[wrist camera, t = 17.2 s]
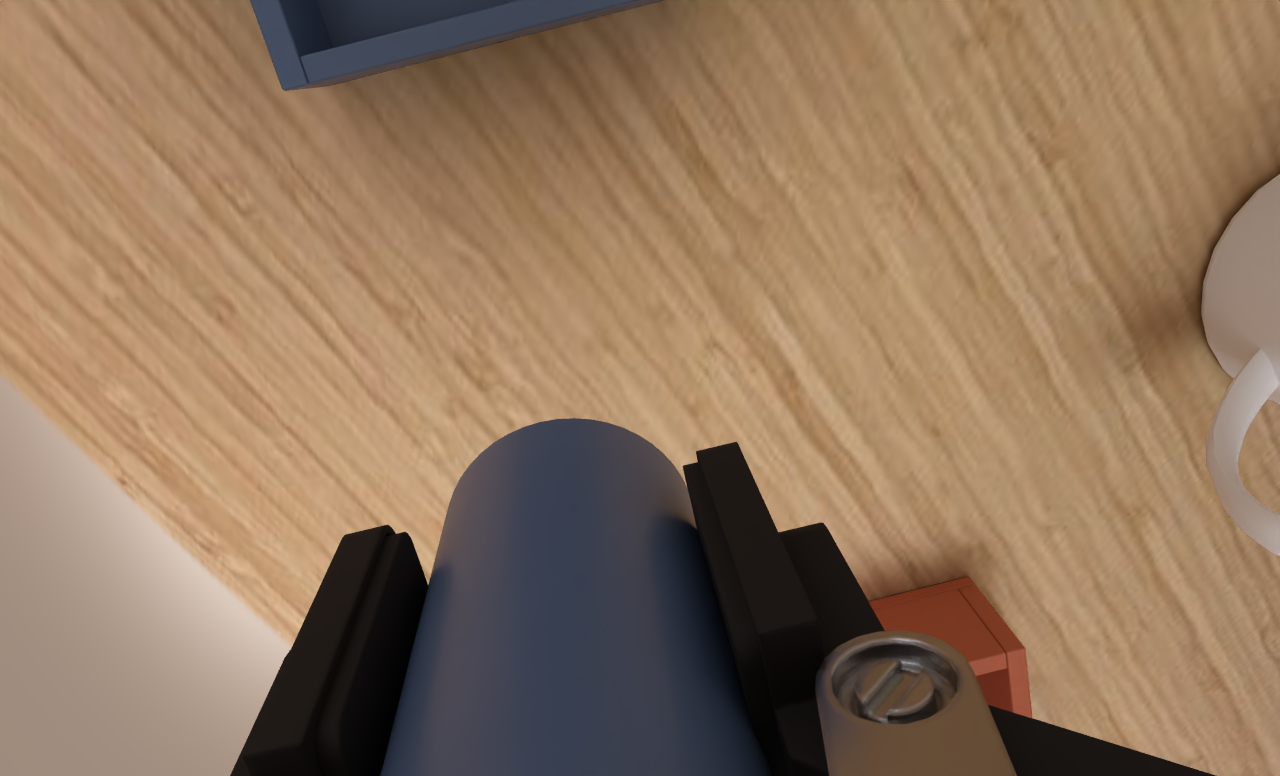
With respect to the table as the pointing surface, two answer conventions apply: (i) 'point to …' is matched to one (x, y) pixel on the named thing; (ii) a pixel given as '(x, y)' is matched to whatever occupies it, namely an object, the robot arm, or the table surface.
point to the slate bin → (400, 31)
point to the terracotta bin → (965, 636)
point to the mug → (1245, 349)
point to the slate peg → (572, 622)
